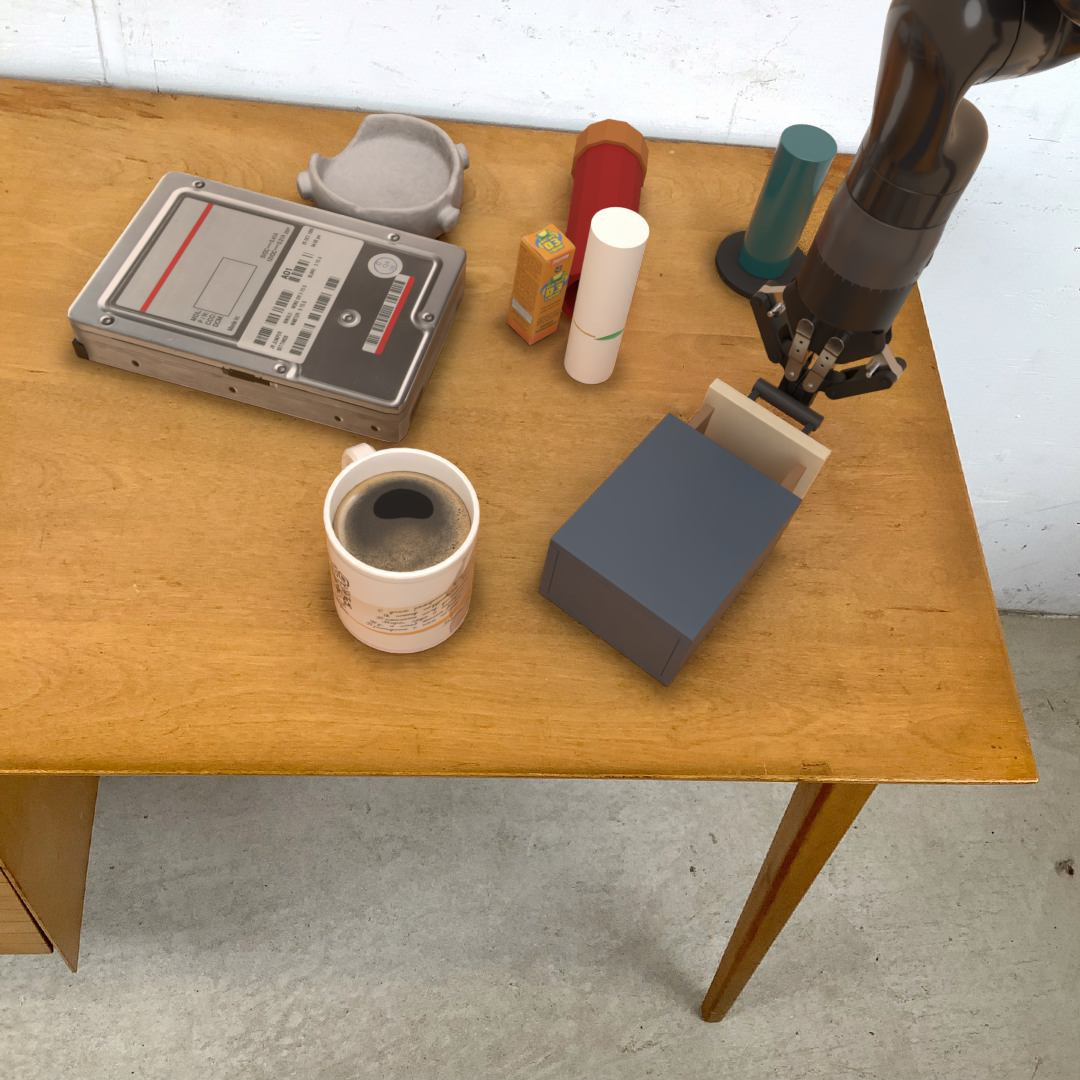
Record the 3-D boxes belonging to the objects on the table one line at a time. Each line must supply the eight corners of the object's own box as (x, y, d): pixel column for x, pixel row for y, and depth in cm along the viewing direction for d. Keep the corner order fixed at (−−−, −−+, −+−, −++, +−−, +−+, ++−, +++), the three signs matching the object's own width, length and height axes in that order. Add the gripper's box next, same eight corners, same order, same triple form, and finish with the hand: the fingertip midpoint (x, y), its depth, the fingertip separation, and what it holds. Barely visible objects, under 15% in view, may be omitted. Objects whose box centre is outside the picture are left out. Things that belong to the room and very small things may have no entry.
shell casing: (640, 184, 99) (654, 121, 93) (625, 331, 89) (640, 271, 83) (571, 172, 99) (581, 109, 93) (547, 318, 88) (557, 258, 83)
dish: (287, 230, 91) (281, 185, 86) (348, 139, 98) (345, 93, 94) (440, 277, 90) (442, 233, 85) (490, 181, 97) (493, 136, 93)
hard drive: (177, 209, 90) (167, 168, 87) (467, 287, 89) (470, 249, 86) (77, 356, 81) (61, 317, 77) (401, 446, 80) (401, 410, 76)
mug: (308, 640, 70) (293, 559, 61) (349, 499, 77) (340, 406, 67) (458, 665, 70) (465, 589, 61) (486, 523, 77) (496, 434, 67)
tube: (558, 376, 85) (585, 239, 72) (569, 340, 87) (597, 201, 75) (608, 389, 85) (643, 254, 72) (617, 353, 87) (654, 215, 75)
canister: (797, 260, 95) (848, 143, 84) (771, 287, 93) (820, 169, 82) (754, 235, 96) (799, 115, 85) (727, 260, 94) (770, 141, 83)
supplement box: (531, 349, 86) (544, 261, 78) (506, 324, 88) (516, 234, 79) (560, 332, 88) (577, 244, 79) (535, 308, 89) (549, 218, 80)
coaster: (825, 267, 96) (828, 262, 95) (778, 318, 92) (780, 313, 91) (746, 220, 98) (748, 215, 98) (697, 268, 94) (698, 263, 93)
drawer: (725, 394, 85) (744, 347, 80) (831, 462, 82) (858, 417, 78) (603, 527, 77) (617, 484, 72) (717, 607, 74) (739, 568, 69)
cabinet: (648, 471, 81) (669, 411, 75) (770, 553, 78) (803, 499, 72) (537, 592, 74) (550, 538, 68) (667, 687, 71) (692, 640, 65)
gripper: (761, 224, 68) (698, 390, 83) (933, 326, 65) (836, 480, 80) (815, 172, 72) (746, 340, 86) (981, 266, 68) (880, 424, 83)
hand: (789, 407), depth 83 cm, fingers closed
